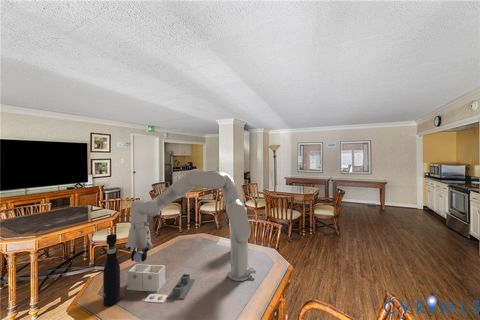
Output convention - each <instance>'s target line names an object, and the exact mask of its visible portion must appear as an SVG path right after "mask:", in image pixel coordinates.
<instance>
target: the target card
mask: <svg viewBox="0 0 480 320" xmlns="http://www.w3.org/2000/svg"><path fill="white" fill-rule="evenodd" d="M168 295H169V294H160V293H158V294H157V293H149V294H148V295H147V297H146V298H145V299H144V301H143V302H144V303H145V302H147V303H158V304H159V303H161V304H163V303H164V302H165V301H166V299H167V297H168Z"/></svg>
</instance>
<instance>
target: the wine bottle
mask: <svg viewBox="0 0 480 320" xmlns="http://www.w3.org/2000/svg"><path fill="white" fill-rule="evenodd" d="M117 237H118V236H117V234H116V233H111V234H107V236H106V244H107V253H106V261H105V264H104V268H103V271H102V272H103V273H102V274H103V306H104V307H107V308H108V307H112V306H116V305H117V304H118V303H119V302H120V301H121V266H120V262H119V260H118V258H117V257H118V256H117V248H116V243H117V240H118V239H117Z"/></svg>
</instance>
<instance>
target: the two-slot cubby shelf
mask: <svg viewBox="0 0 480 320" xmlns="http://www.w3.org/2000/svg"><path fill="white" fill-rule="evenodd" d="M165 283H167V280H166V265H162V264H159V265H158V264H144V263H143V264H141V263H136V264H134V266H133V267H132V268H130V269H129V270H128V271H127V287H126V290H128V291H139V292H140V291H141V292H143V291H144V292H156V293H157V292H159V291H161V289H162V287H164V285H165Z"/></svg>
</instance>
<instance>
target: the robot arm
mask: <svg viewBox="0 0 480 320" xmlns="http://www.w3.org/2000/svg"><path fill="white" fill-rule="evenodd" d="M195 188H202V189H211V190H221V193H222V196H223V200H224V204H225V211H226V214H227V217H228V220H229V233H230V235H229V237H230V269H229V270H228V273H227V276H228V278H229V279H230V280H232V281H235V282H243V281H247V280H249V279H250V278H251V276H252V275H253V274H257V269H255V268H254V267H251V266H250V264H249V257H248V256H249V247H248V246H249V243H248V242H249V238H250V237H251V231H252V229H251V224H250V221H249V217H248V213H247V212H248V211H247V212H246V209H245V205H244V204H243V202H242V201H241V198H240V194H239V191H238V187H237V184H236V182H235V181H234V179H233V178H232V177H231V176H230V175H229V174H227V173H226V172H223V171H218V170H216V171H206V170H200V169H197V168H193V169H191V170H189V172H187V173H186V174H185V175H182V176H181V177H180V178H178V180H176V181H175V182H174V183H172V184H171V185H170V186H169V187H168V188H167V189H165V190H164V191H163V192H161V193H160V194H158V195H157V196H155V197H154V198H153V199H151V200H149V201H147V200H145V199H136V200H133V201H131V202H130V227H129V230H128V235H127V242H126V244H124V246H125V248H126V249H127V250H128V251H129V254H130V261H131V262H133V261H134V254H135V253H136V252H137V250H136V249H141V252H143V254H142V261H141V262H142V263H144V262H145V261H146V260H147V259H148V252H149V251H150V250H151V248H153V247H154V244H152V242H151V241H152V239H151V231H150V227H149V225H150V222H148V216H151V217H152V216H153V217H154V216H157V215H159V214H160V213H161V211H162V210H164V209H165V208H167V206H169V205H170V204H172V203H173V202H175V201H176V200H179V199H181V198H183V197H184V196H186V195H187V194H189V192H191V191H192V190H194V189H195ZM134 262H135V261H134ZM251 274H252V275H251Z"/></svg>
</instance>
